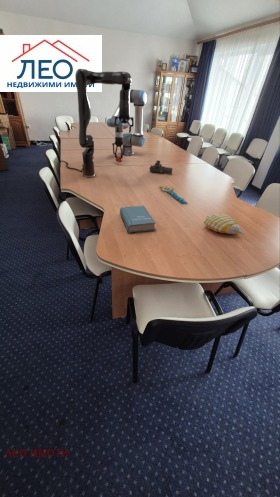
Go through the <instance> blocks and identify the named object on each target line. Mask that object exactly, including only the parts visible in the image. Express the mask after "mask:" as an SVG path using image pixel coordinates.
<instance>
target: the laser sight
mask: <svg viewBox="0 0 280 497" xmlns="http://www.w3.org/2000/svg"><path fill="white" fill-rule="evenodd" d="M148 169H149V172H151V173H157V174H162V175H163V174H170V175H172V174H173V167H167V166H163V165H162V163H161V160H156V162H155V164H151V165H150V166H149V168H148Z"/></svg>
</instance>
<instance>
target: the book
mask: <svg viewBox="0 0 280 497" xmlns="http://www.w3.org/2000/svg"><path fill="white" fill-rule="evenodd" d="M119 214H120V217H121V219H122V221H123V223H124V226H125V227H126V230H127V232H128V233H141V232H151V231H155V230H156V229H155V224H156V221H155V220H154V218H153V217H152V215H151V214H150V212H149V211H148V209H147V207H146V206H145V205H135V206H134V205H133V206H124V207H123V206H122V207H120V208H119Z"/></svg>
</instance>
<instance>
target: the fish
mask: <svg viewBox="0 0 280 497" xmlns="http://www.w3.org/2000/svg"><path fill="white" fill-rule="evenodd" d="M203 223H204V225H205V226H206V227H207V228H208V229H210V230H212V231H214V232H217V233H222V234H227V235H237V234H239V235H244V234H245V233H244V232H243V231H242V229H241V227H240V225H239V224H238V222H237V219H236V218H235V217H232V216H230V215H229V214H228V213H216V214H210V215H207V216H206V218H205V219H204V220H203Z"/></svg>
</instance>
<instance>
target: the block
mask: <svg viewBox="0 0 280 497" xmlns="http://www.w3.org/2000/svg"><path fill="white" fill-rule="evenodd" d="M121 162H122V158H121V155H117V162H116V163H121Z"/></svg>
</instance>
